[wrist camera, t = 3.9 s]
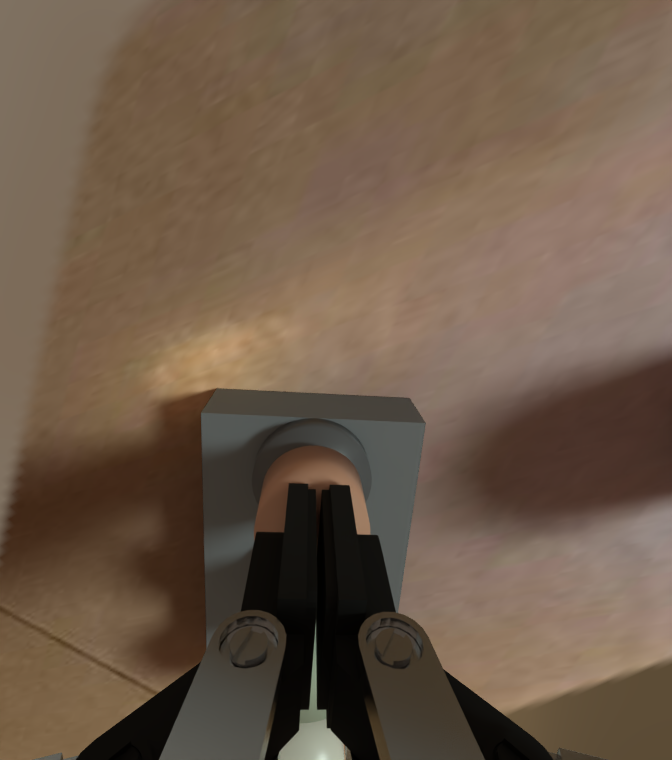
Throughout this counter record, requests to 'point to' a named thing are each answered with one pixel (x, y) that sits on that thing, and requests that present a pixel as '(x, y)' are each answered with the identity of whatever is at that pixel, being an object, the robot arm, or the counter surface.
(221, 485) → the button panel
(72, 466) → the counter surface
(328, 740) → the cream button
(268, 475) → the peach button
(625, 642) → the counter surface
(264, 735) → the robot arm
